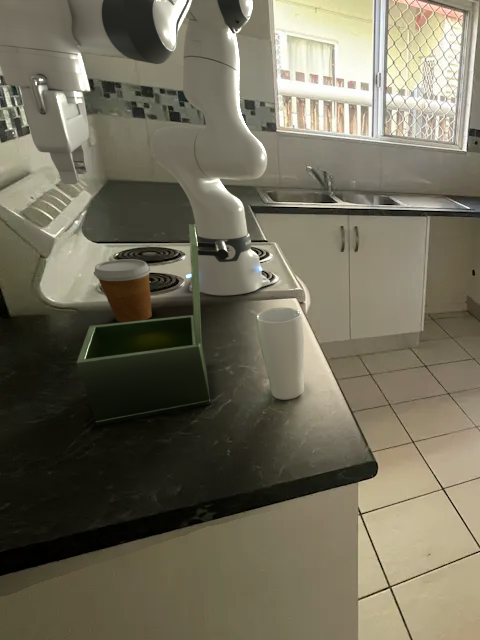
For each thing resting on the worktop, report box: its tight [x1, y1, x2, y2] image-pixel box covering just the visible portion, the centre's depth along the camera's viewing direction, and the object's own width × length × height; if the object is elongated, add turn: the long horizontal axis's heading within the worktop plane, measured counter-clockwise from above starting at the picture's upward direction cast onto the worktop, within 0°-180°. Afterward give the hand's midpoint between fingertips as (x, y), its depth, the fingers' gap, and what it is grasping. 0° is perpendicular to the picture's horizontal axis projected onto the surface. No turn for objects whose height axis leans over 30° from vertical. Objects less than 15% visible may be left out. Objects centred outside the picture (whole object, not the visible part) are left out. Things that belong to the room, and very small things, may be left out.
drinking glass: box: [255, 307, 305, 401], centre depth 80 cm, size 7×7×15 cm
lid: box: [188, 224, 228, 343], centre depth 77 cm, size 16×14×5 cm
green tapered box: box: [76, 314, 211, 427], centre depth 77 cm, size 15×14×11 cm
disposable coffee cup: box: [93, 258, 153, 323], centre depth 102 cm, size 10×10×12 cm
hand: (75, 178), depth 72 cm, fingers open, 8 cm apart
